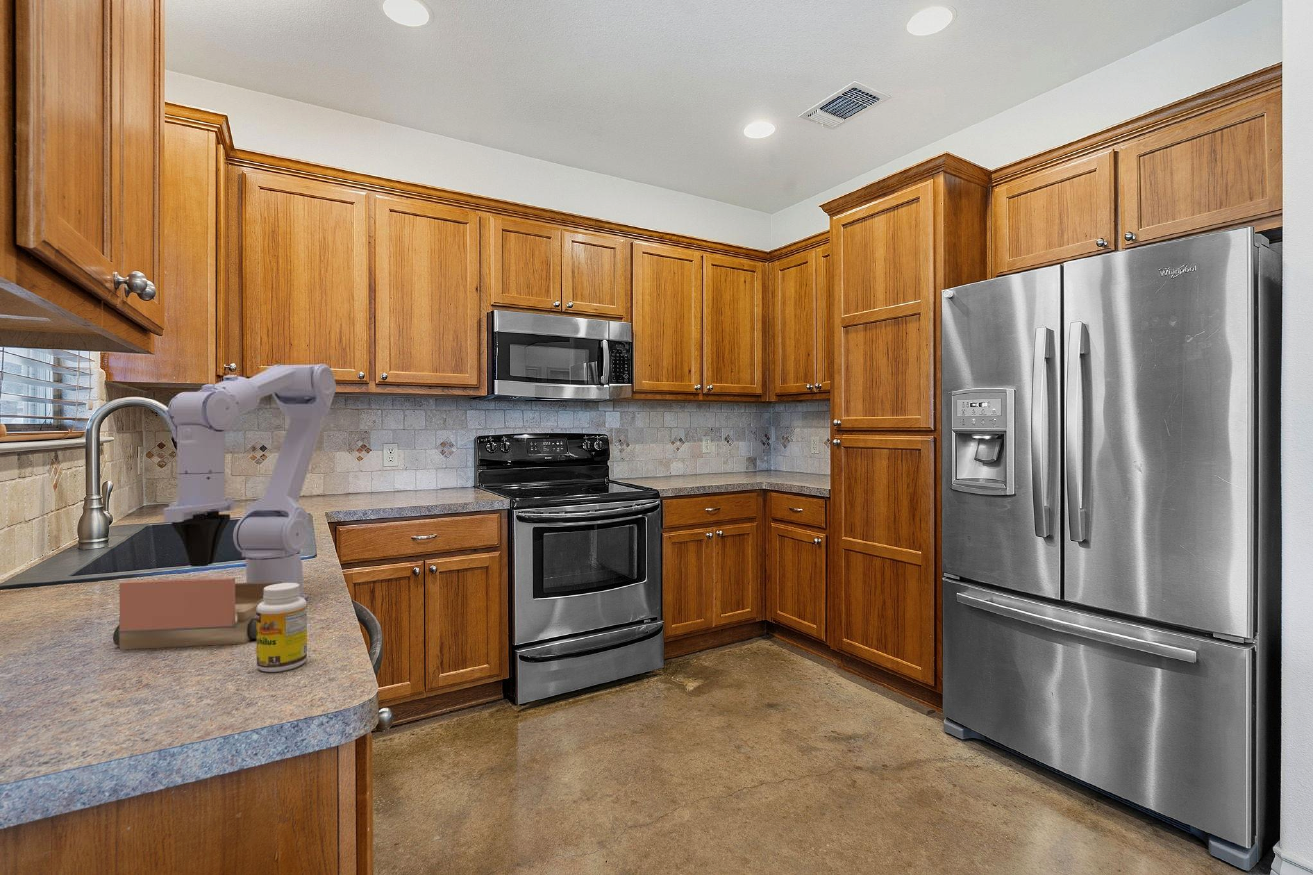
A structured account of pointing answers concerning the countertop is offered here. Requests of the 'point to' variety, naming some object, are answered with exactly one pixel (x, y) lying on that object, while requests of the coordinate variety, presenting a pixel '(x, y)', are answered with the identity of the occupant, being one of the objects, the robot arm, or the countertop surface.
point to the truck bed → (244, 631)
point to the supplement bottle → (281, 628)
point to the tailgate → (177, 605)
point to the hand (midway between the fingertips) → (202, 565)
